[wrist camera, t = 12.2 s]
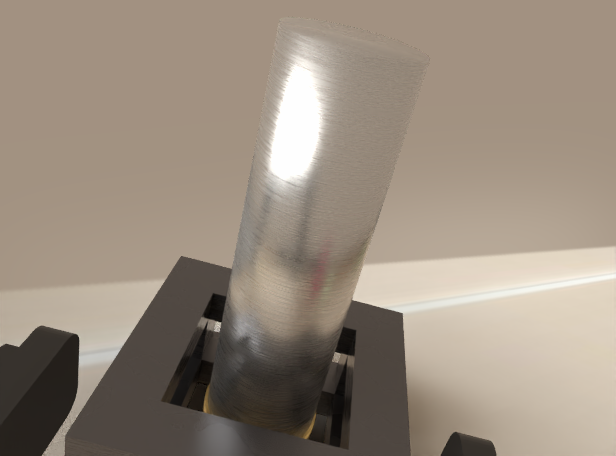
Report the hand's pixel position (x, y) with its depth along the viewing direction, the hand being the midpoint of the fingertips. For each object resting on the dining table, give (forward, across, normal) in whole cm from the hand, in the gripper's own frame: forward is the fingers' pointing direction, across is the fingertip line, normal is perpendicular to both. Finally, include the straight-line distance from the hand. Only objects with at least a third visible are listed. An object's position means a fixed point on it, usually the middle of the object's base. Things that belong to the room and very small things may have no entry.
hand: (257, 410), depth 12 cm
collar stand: (+8, 0, +12) cm, 14 cm away
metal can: (+8, 0, +12) cm, 14 cm away
